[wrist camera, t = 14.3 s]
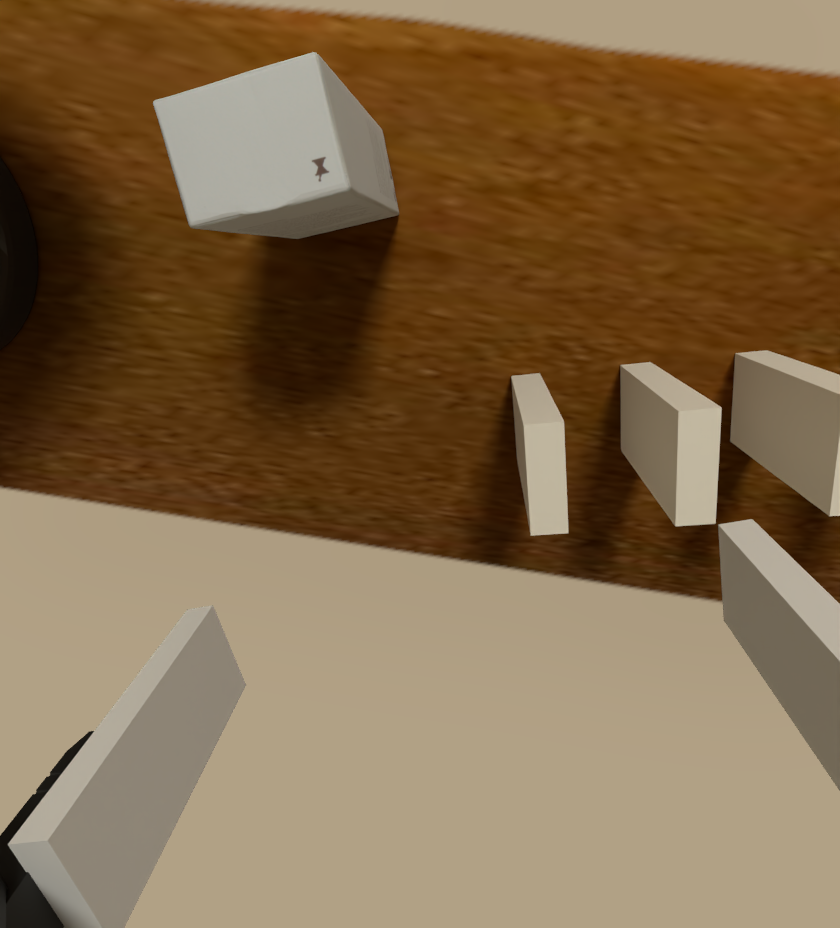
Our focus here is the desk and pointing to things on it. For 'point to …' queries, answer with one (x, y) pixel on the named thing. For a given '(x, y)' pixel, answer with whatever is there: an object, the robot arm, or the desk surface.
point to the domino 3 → (790, 423)
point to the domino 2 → (671, 442)
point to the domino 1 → (540, 455)
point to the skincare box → (277, 153)
